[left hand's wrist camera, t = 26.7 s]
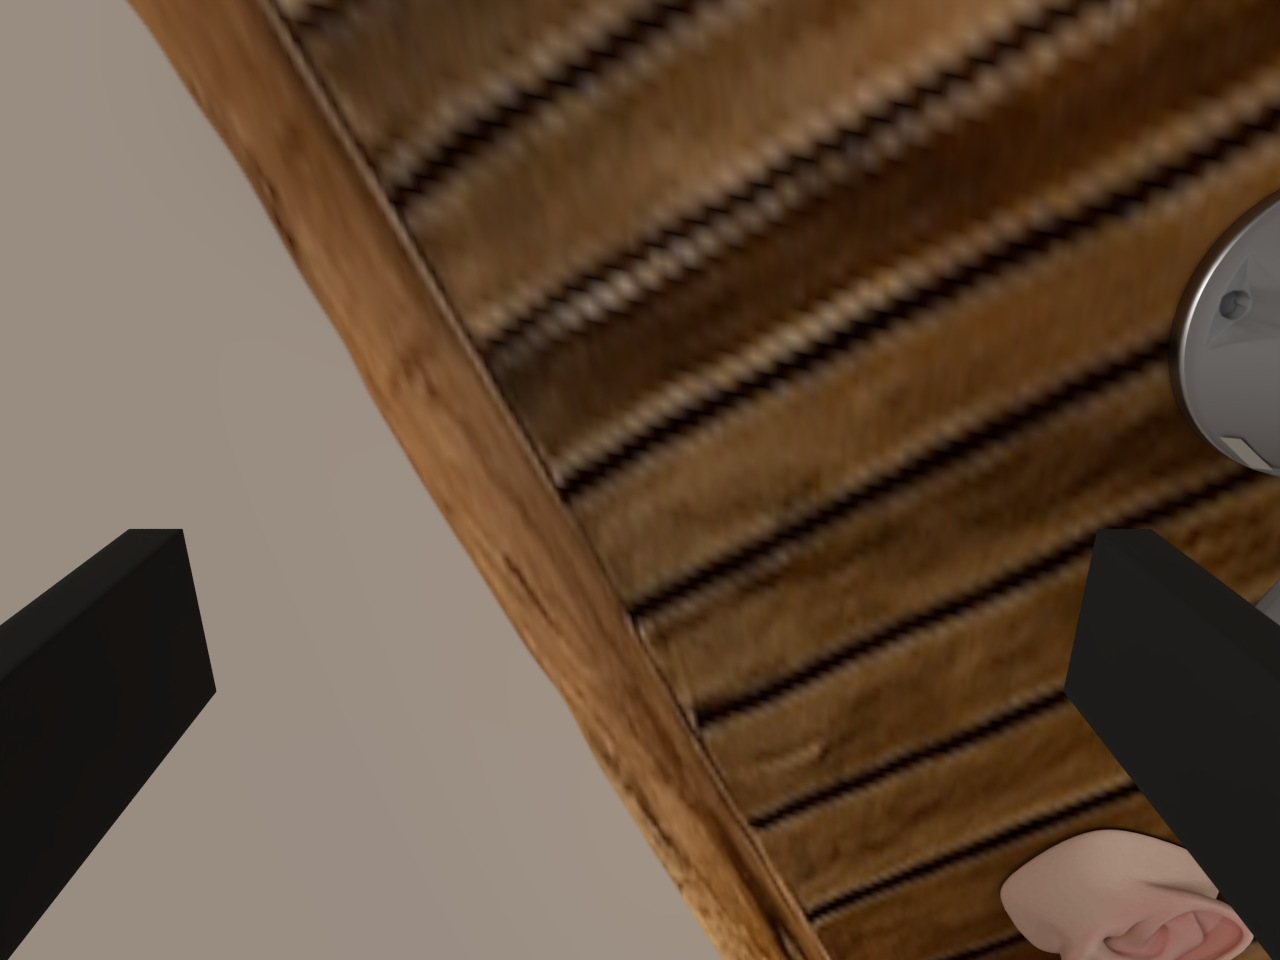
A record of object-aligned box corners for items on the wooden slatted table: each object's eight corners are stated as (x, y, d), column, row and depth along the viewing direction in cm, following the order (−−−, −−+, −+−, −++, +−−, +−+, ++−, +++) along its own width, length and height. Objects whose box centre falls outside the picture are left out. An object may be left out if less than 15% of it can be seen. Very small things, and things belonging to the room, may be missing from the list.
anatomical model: (994, 966, 54) (1121, 842, 50) (971, 913, 57) (1088, 794, 54) (1153, 1042, 56) (1285, 929, 53) (1122, 987, 60) (1242, 878, 56)
